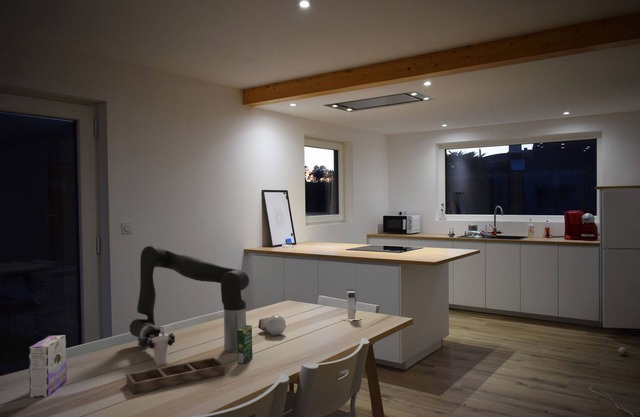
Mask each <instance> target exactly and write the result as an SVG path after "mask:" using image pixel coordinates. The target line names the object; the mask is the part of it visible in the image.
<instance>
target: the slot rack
mask: <svg viewBox="0 0 640 417" xmlns="http://www.w3.org/2000/svg"><path fill="white" fill-rule="evenodd" d="M225 367H226V366H225V364H224V363H222V362H221V361H219V360H218V359H216V358H215V357H209V358H205V359H198V360H193V361H189V362H184V363H183V362H182V363H178V364H174V365H168V366H163V367H158V368H152V369H145V370H141V371H137V372H136V371H135V372H129V373H126V378H125V379H126V386H127V387H128V389H129V391H130V392H131V393H132V395H134V396H135V395H139V394H143V393H144V394H145V393H148V392H152V391H156V390H162V389H167V388H171V387H176V386H180V385H181V386H182V385H184V384H190V383H194V382H199V381H204V380H208V379H213V378H217V377H222V376H225V375H226V369H225Z"/></svg>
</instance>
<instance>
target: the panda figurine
mask: <svg viewBox="0 0 640 417" xmlns="http://www.w3.org/2000/svg"><path fill="white" fill-rule="evenodd" d="M346 300H347V301H346V304H347V316H348V319H355V316H356V313H357V312H356V306H357V305H356V304H357V303H356V301H357V300H356V292H355V290H354V289H350V288H349V289H348V288H347V291H346Z"/></svg>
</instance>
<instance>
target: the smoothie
mask: <svg viewBox="0 0 640 417" xmlns="http://www.w3.org/2000/svg"><path fill="white" fill-rule="evenodd" d="M160 330H161V336H158V337H154V338H152V342H153V344H154V349H153V355H154V361H155V364H156V365H157V366H158V365H160V366H161V365H165V364H166V363H167V362H166V361H167V354H168V346H169V345H168V340H169V337H167V336H168V335H167V336H162V332H163V327H162V326H160Z"/></svg>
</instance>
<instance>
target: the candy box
mask: <svg viewBox="0 0 640 417" xmlns="http://www.w3.org/2000/svg"><path fill="white" fill-rule="evenodd" d="M66 341H67V339H66V335H65V334H63V335H62V334H61V335H59V334H58V335H48V336H47V337H45V338H43V339H42V340H40V341H38V342H36V343H35V344H33V345H31V346H29V347H28V352H29V353H28V354H29V355H28V357H29V366H28V367H29V370H28V371H29V398H48V397H49V396H51V395H52V394H53V393H54V392H55V391H57V390H58V389H59V388H61V387H62V385H64V384H65V383H66V382H67V378H68V376H67V342H66Z"/></svg>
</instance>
